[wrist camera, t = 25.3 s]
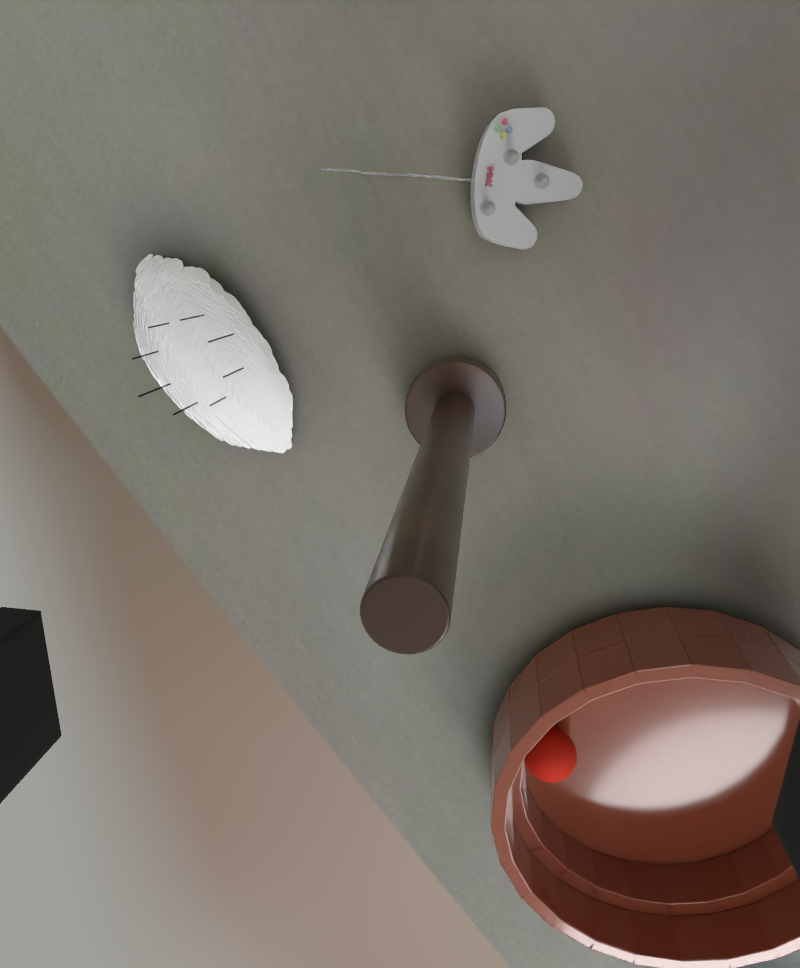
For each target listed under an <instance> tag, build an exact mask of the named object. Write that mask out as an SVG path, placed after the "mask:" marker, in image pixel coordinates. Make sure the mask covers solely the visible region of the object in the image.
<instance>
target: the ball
mask: <svg viewBox="0 0 800 968" xmlns="http://www.w3.org/2000/svg"><path fill="white" fill-rule="evenodd" d="M524 761H525V764H526V766H527V768H528V770H529V771H530V772H531V773H532V774H533V775H534V776H535V777H536V778H538V779H539V780H541V781H544V782H549V783H555V782H560V781H562V780H564V779H566V778H567V777H568V776H570V774H571V773H572V772H573V770H574V768H575V766H576V761H577V752H576V748H575V745H574V743H573V741H572V740H571V738H570V737H569V736H568V735H567V734H566V733H565V732H564V731H562V730H561V729H559V728H556V727H551V728H550V729H549V731H548V732H547V733H546V734H545V735H544V736H543V737H542V738H541V739H540V741H539V742H538V743H537V744H536V745H535V746H534V747H533V748H532V749H531V750H530V752H529V753H528V754H527V755H526V756H525V759H524Z"/></svg>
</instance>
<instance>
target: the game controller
mask: <svg viewBox="0 0 800 968" xmlns="http://www.w3.org/2000/svg"><path fill="white" fill-rule="evenodd" d="M554 126H555V117H554V114H553V113H552V111H551V110H549V109H548V108H545V107H538V108H519V109H511V110H508V111H505V112H502V113H499V114H498V115H497V116H496V117H494V118H493V120H492V121H491V122H490V123H489V124H488V126H487V127H486V129H485V131H484V133H483V135H482V137H481V139H480V142H479V145H478V148H477V152H476V155H475V159H474V165H473V171H472V177H471V179H469V178H456V177H446V176H439V175H428V174H414V173H402V174H397V173H379V172H368V171H360V170H351V169H339V168H320V171H323V170H325V171H342V172H354V173H361V174H370V175H383V176H416V177H430V178H441V179H447V180H458V181H471V194H470V199H471V214H472V218H473V222H474V227H475V229H476V231H477V233H478V234H479V236H480V237H481V238H483V239H485V240H487V241H488V242H491V243H494V244H498V245H502V246H506V247H511V248H515V249H528V248H530V247H532V246H533V245H534V244H535V242H536V240H537V230H536V228H535V226H534V225H533V224H532V223H531V222H530V221H529V220H528V219H527V218H526V217H525V216H524V215H523V214H522V213H521V211H520V210H519V209H518V208H517V207H516V206H515V204H517V205H528V204H538V203H548V202H557V201H564V200H569V199H573V198H575V197H576V196H578V195H579V194H580V192H581V191H582V188H583V183H582V180H581V179H580V177H579V176H578V175H576V174H575V173H573V172H570V171H567V170H564V169H560V168H557V167H554V166H551V165H548V164H545V163H542V162H538V161H535V160H522V152H524V151H526V150H527V149H529V148H530V147H532V146H533V145H535V144H536V143H538V142H539V141H541V140H542V139H544V138H545V137H547V136H548V135H549V134H551V132H552V131H553V129H554Z"/></svg>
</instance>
